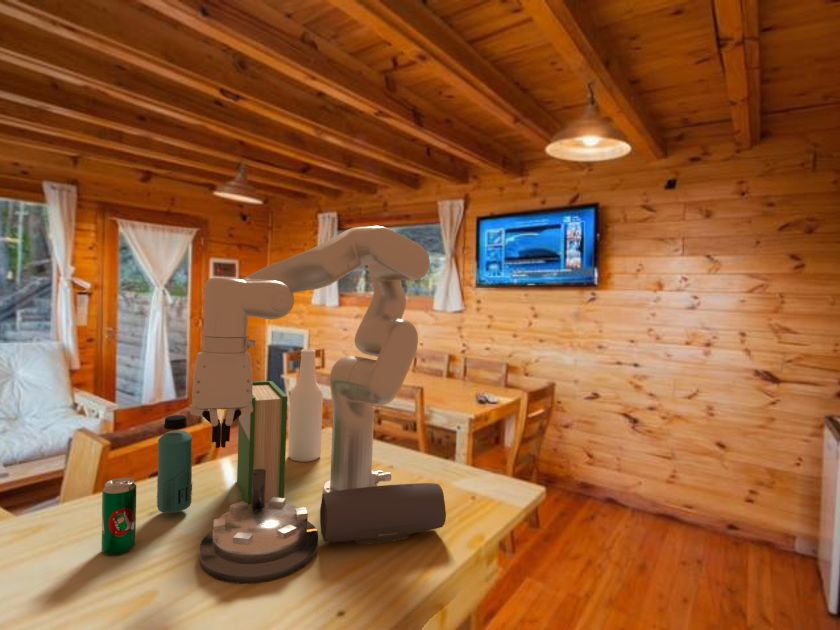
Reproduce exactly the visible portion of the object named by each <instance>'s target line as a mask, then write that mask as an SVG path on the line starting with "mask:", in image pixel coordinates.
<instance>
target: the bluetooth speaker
mask: <svg viewBox="0 0 840 630" xmlns="http://www.w3.org/2000/svg"><path fill="white" fill-rule="evenodd" d="M444 495H445V494H444V491H443V489H442V486H441V485H440V484H439V483H434V482H433V483H432V482H430V483H429V482H427V483H426V482H423V483H421V482H419V483H418V482H417V483H399V484H385V485H377V486H373V487H364V488H356V489H348V490H340V491H334V492H329V493H325V494H324V493H322V495H321V504H320V509H319V523H320V524H319V525H320V533H321V536H322V539H323V542H324V543H325V542H326V543H327V542H329V543H330V542H332V543H334V542H336V543H337V542H353V541H354V542H355V543H356V544H357V545H369V544H368V543H373V544H378V542H381V543H387V541H389V542H394V541H393V540H396V541H400V540H399V539H401V540H404V539H403V538H405V539H408V538H409V536H410V535H413V534H418V533H422V532H427V531H433V530H437V529H440V528H443V526H445V523H446V518H447V512H446V510H447V509H446V502H445V496H444ZM407 537H408V538H407Z"/></svg>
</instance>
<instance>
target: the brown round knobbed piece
mask: <svg viewBox="0 0 840 630" xmlns="http://www.w3.org/2000/svg"><path fill="white" fill-rule="evenodd" d="M265 483H266V470H265V469H256V470H253V475H252V504H249V505H248V504H247V503H245V502H244V501H243V500H241V501H238V502H236V503H233V504H230V505H229V510H228V511H226V512H225V513H223V514H222V515H220V516H219V517H218V518H214V519H213V526H212V530H213V544H212V546H213V550H214V552H215V553H216V554H217V555H219V556H220V557H222V558H224V559H226V560H229V561H233V562H239V563H260V562H267V561H271V560H275V559H279V558H282V557H284V556H287V555H289V554H291V553H293V552H294V551H296V550H297V549H299V548H300V547H301V546H302V545H303V544H304V542H305V541H306V538H307V521H309V520H308V517H309V514H308V513H309V512H308V510H307V508H306V506H304V507H299V506H297V505H293V504H290V503H287V502H286V501H287V498H286V497H284V498H277V497H273V498H272V499H271V500H270V501H269V502H265Z"/></svg>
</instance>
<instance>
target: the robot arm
mask: <svg viewBox="0 0 840 630" xmlns="http://www.w3.org/2000/svg"><path fill="white" fill-rule="evenodd" d="M428 253H429V252H427V250H426V249H425V248H424V246H422V245H421V244H420V243H418V242H416V241H414V240H412V239H410V238H409V237H406V236H405V235H402V234H401V233H398V232H397V231H395V230H393V229H391V228H388V227H385V226H380V225H372V226H370V225H369V226H357V227H356V226H355V227H352V228H349V229H346V230H344V231H343V232H340V233H338V234H337V235H334V236H332V238H331V237H330V238H329V239H328V240H326V241H323V242H322V243H320V244H318V245H316V246H315V247H312V248H310V249H308V250H306V251H304V252H300V253H297V254H295V255H293V256H291V257H287V258H285V259H282V260H279V261H277V262H275V263H271V264H269V265H267V266H265V267H263V268H261V269H259V270H257V271H254V272H253V273H251V274H249V275H247V276H245V277H243V278H242V279H240V278H231V277H212V278H209V279H207V280H206V282H205V285H204V302H203V303H204V305H203V306H204V308H203V328H202V331H203V332H202V346H201V347H202V349H201V351H200V352H199V351H198V353H197V355H196V359H195V364H194V370H193V378H192V379H193V380H192V390H191V393H192V394H191V401H192V402H191V406H190V409H189V415H191V416H195V417H203V418H204V419H205V420H206V421H207V422H208V423H209V424H210V425H211V426H212V428H211V429H212V430H211V442H212V443H215V449H219V448H222V449H224V448H226V445H227V444H226V442H227V443H228V442H230V441H231V440H230V439H231V426H232V424H233V423H234V422H235V421H237V420H238V419H239V416H240V415H244V414H248V413H251V412H253V407H252V393H253V382H254V381H253V366H252V357H251V356H252V355H251V353H250V352H248V350H249V349H251V348H256V340H254V339H250V338H248V332H249V331H248V330H249V329H248V327H249V318H258V319H263V320H269V321H270V320H273V321H274V320H279V319H281V318H284V317H286V316H287V315H289V314H290V312H291V311H292V309H293V308H294V305H295V295H294V294H296V293H301V292H306V291H312V290H314V291H315V290H318V289H322V288H326V287H328V286H331V285H333V284H334V283H335V282H337V281H339V280H340V279H342V278H344V277H345V276H347V275H349V274H350V273H351V272H353V271H355V270H357V269H358V268H360V267H362V266H367V267H368V268H367V269H368V271H369V274H370V277H371V280H372V281H371V282H372V285H373V295H372V297H371V301H370V303H369V305H368V306H367V309H366V311H365V313H364V316H363V317H362V319H361V322H360V323H359V326H358V328H357V330H356V333H355V336H354V344H355V347H356V349H357V350H358V351H359V352H360V353H362V354H364V355H368V356H372V357H377V358H376V359H373V358H368V357H363V356H357V355H356V356H355V355H350V356H349V355H348V356H344V357H342V358H341V357H340V358H339V359H338V360H337V361H336V362H335V363H334V364H333V366H332V367H331V370H330V374H329V375H330V376H329V386H330V391H331V399H332V425H331V427H332V428H331V429H332V431H331V456H330V457H331V458H330V478H329V480H328V481H326V482H325V483H324V485H323V490H322V491H323V494H325V493H329V492H334V491H340V490H348V489H356V488H364V487H373V486H378V484H379V482H380V483H381V482H384V483H385V482H390V481H391V480H392V474H391V472H390V471H389V472H383V470H376V471H374V470H373V469H372V467H373V448H374V447H373V445H374V426H375V416H374V415H375V414H374V407H373V405H377V406H384V405H388V404H389V403H391V402H392V401H393V400H394V399H395V398H396V397H397V395H398V394H399V392H400V390H401V388H402V386H403V383H404V381H405V379H406V377H407V374H408V372H409V369H410V368H411V365H412V363H413V360H414V357H415V355H416V353H417V350H418V345H419V335H418V331H417V329H416V327H415V325H414V324H413V323H412V322H410V321H409V320H407V319H403V316H404V313H405V310H406V306H407V298H406V294H405V292H404V287H403V285H402V282H401V281H411V282H412V281H413V282H414V281H418V280H422V279H423V278H424V277H425V276H426V275H427V274H428V273H429V270H430V265H431V262H430V256H429V254H428ZM372 404H373V405H372ZM218 410H226V412H225V416H224V418H223V420H222V422H221V420H220V419H219V416H218Z"/></svg>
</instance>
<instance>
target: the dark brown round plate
mask: <svg viewBox="0 0 840 630" xmlns="http://www.w3.org/2000/svg"><path fill="white" fill-rule="evenodd" d="M212 544H213V529H212V530H211V531H210V532H208V533H207V534H206V535H205V536H204V537H203V539H202V541H201V543H200V545H199V555H198V556H199V557H198V558H199V565H200V568H201V569H202V571H203V572H204V573H205V574H207V575H208V576H209V577H211V578H213V579H215V580H218V581H221V582H225V583H231V584H241V585H242V584H248V585H249V584H260V583H266V582H272V581H275V580H278V579H282V578H284V577H288V576H291V575H292V574H294V573H297V572H298V571H300V570H302V569H303V568H305V567H306V566H307V565H308V564H309V563H311V561H312V560H313V559H314V558H315V557H316V554H317V552H318V550H319V549H318V548H319V532H318V529H317V528H316V527H315V525H314V524H313V523H311V522H310V521H309V520H307V538H306V541H305V542H304V544H303V545H302V546H301V547H300V548H299V549H297V550H296V551H294V552H293V553H291V554H289V555H287V556H284V557H282V558H279V559H275V560H271V561H267V562H260V563H239V562H233V561H229V560H226V559H224V558H222V557H220V556H219V555H217V554H216V553H215V552H214V550H213V546H212Z"/></svg>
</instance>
